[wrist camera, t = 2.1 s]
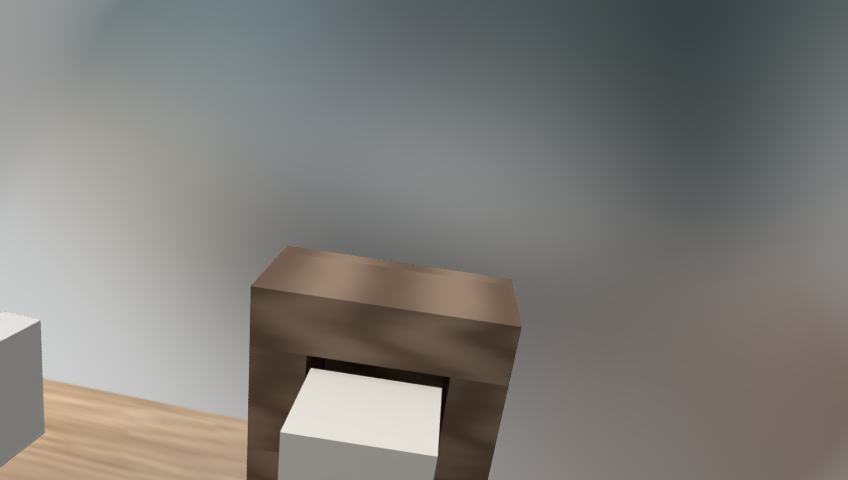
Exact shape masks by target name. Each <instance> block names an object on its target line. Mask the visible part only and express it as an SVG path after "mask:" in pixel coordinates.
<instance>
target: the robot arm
mask: <svg viewBox="0 0 848 480" xmlns="http://www.w3.org/2000/svg"><path fill="white" fill-rule="evenodd" d="M44 433H45V430H44V403H43V377H42V350H41V324H40V320H37V319H33V318H29V317H25V316H21V315H17V314H13V313H9V312H3V313H1V314H0V467H2V466H3V465H4V464H5V463H7V462H8V461H9V460H11V459H12V458H13V457H14V456H16V455H17V454H18V453H20V452H21V451H22V450H23V449H25V448H26V447H27V446H29V445H30V444H31V443H32V442H34V441H35V440H36V439H38V438H39V437H40V436H41V435H43V434H44Z"/></svg>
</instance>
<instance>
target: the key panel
mask: <svg viewBox="0 0 848 480" xmlns="http://www.w3.org/2000/svg"><path fill="white" fill-rule="evenodd" d="M520 332H521V322H520V317H519V313H518V308H517V304H516V299H515V294H514V289H513V285H512V280H511V279H506V278H499V277H493V276H486V275H479V274H472V273H466V272H459V271H453V270H446V269H439V268H432V267H426V266H419V265H412V264H406V263H399V262H392V261H385V260H379V259H372V258H365V257H359V256H352V255H345V254H338V253H331V252H325V251H318V250H312V249H305V248H298V247H292V246H287V247H286V248H285V249H284V250H283V251H282V252H281V253H280V255H279V256H278V257H277V258H276V259H275V260H274V261H273V262H272V263H271V265H270V266H269V267H268V268H267V269H266V270H265V271H264V272H263V273H262V275H261V276H260V277H259V278H258V279H257V280H256V281H255V282H254V283H253V284H252V285H251V306H250V351H249V354H250V356H249V399H248V400H249V401H248V446H247V480H278V466H279V445H280V431H281V429H282V427H283V425H284V423H285V421H286V419H287V417H288V415H289V412H290V410H291V408H292V406H293V404H294V402H295V400H296V398H297V396H298V394H299V392H300V390H301V388H302V385H303V383H304V381H305V379H306V377H307V375H308V373H309V371H310V369H311V368H314V369H320V370H327V371H333V372H340V373H346V374H353V375H359V376H366V377H372V378H379V379H385V380H392V381H398V382H405V383H411V384H418V385H424V386H431V387H437V388H442V393H441V410H440V426H439V442H438V457H437V463H436V469H435V474H434V480H488V476H489V471H490V467H491V462H492V458H493V454H494V449H495V444H496V440H497V435H498V431H499V427H500V422H501V418H502V413H503V409H504V404H505V399H506V394H507V390H508V386H509V381H510V377H511V372H512V368H513V363H514V359H515V354H516V350H517V345H518V341H519V336H520Z"/></svg>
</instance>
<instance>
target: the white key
mask: <svg viewBox="0 0 848 480" xmlns="http://www.w3.org/2000/svg"><path fill="white" fill-rule="evenodd" d="M441 393H442V388H437V387H431V386H424V385H418V384H411V383H405V382H398V381H392V380H385V379H379V378H372V377H366V376H359V375H353V374H346V373H340V372H333V371H327V370H320V369H314V368H311V369H310V371H309V373H308V375H307V377H306V379H305V381H304V383H303V385H302V388H301V390H300V392H299V394H298V396H297V398H296V400H295V402H294V404H293V406H292V408H291V410H290V412H289V415H288V417H287V419H286V421H285V423H284V425H283V427H282V429H281V431H280V445H279V466H278V480H434V474H435V469H436V463H437V457H438V442H439V426H440V410H441Z"/></svg>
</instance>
